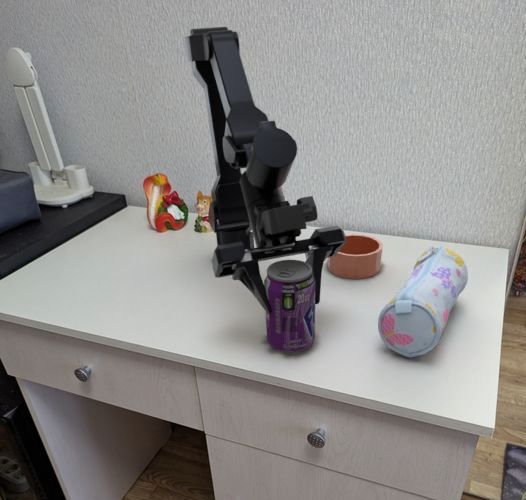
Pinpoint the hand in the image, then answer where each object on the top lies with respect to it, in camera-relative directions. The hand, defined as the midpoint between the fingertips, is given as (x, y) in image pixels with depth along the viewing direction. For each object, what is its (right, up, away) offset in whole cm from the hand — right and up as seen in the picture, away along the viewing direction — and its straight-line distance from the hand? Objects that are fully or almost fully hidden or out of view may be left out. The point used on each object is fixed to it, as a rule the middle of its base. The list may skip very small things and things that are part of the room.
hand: (293, 308), depth 69 cm
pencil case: (+20, -2, +7) cm, 21 cm away
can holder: (+13, +10, +24) cm, 29 cm away
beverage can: (0, -5, +5) cm, 7 cm away
